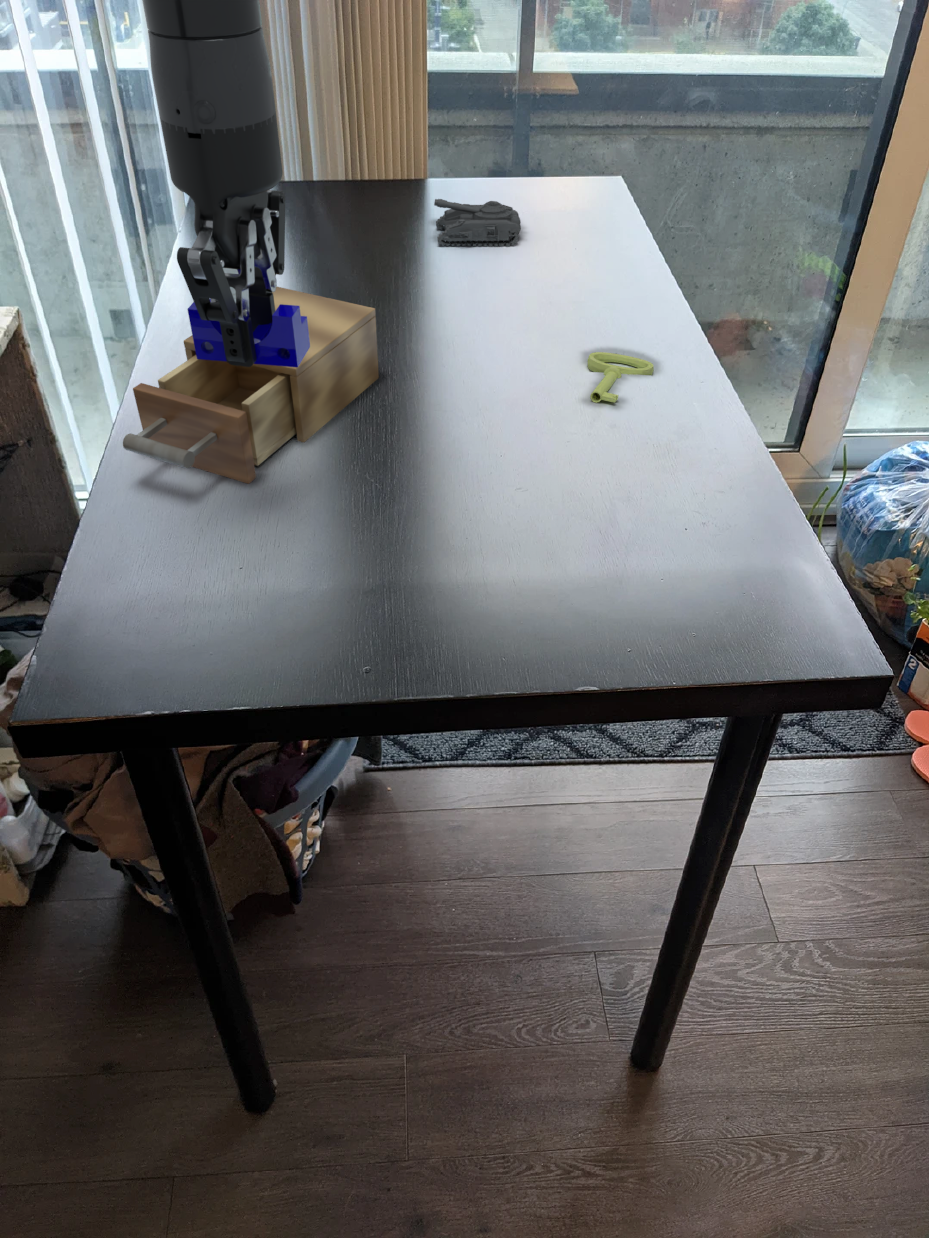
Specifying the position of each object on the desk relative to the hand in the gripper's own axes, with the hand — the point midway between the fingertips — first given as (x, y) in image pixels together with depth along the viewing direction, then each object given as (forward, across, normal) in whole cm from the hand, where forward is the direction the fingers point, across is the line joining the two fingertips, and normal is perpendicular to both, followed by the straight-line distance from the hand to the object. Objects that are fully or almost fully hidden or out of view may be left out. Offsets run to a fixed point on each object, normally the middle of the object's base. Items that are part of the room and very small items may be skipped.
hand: (253, 350), depth 74 cm
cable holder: (0, 0, 0) cm, 0 cm away
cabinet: (+15, -18, -6) cm, 25 cm away
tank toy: (+16, -69, +2) cm, 71 cm away
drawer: (+14, -7, -8) cm, 18 cm away
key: (+16, -31, +26) cm, 43 cm away
